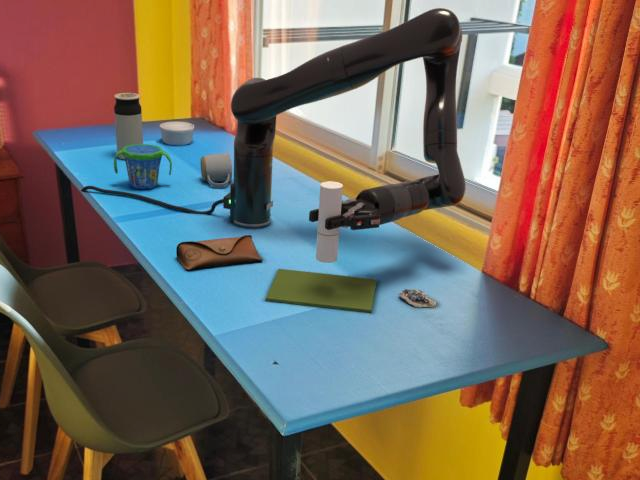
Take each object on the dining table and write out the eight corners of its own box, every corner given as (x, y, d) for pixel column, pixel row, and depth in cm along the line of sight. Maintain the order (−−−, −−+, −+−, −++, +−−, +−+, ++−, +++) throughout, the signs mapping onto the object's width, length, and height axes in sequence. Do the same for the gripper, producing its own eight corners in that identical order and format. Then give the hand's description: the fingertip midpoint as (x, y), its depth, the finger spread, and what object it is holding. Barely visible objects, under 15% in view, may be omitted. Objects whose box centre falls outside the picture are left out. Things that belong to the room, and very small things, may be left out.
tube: (336, 263, 153) (341, 189, 145) (314, 261, 153) (319, 187, 145) (338, 255, 156) (344, 182, 148) (317, 253, 157) (321, 180, 149)
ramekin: (193, 147, 247) (192, 130, 244) (158, 146, 247) (157, 129, 244) (195, 138, 256) (195, 121, 254) (162, 137, 256) (161, 120, 254)
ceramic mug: (199, 177, 220) (199, 150, 216) (227, 176, 222) (228, 149, 218) (206, 189, 212) (205, 161, 207) (235, 188, 213) (235, 160, 209)
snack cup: (175, 181, 217) (174, 144, 211) (169, 193, 208) (167, 155, 202) (120, 178, 217) (117, 142, 212) (111, 190, 208) (109, 152, 203)
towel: (265, 300, 154) (265, 298, 153) (278, 271, 166) (278, 268, 166) (371, 312, 150) (371, 310, 150) (376, 281, 163) (376, 279, 163)
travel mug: (149, 156, 237) (146, 95, 227) (132, 162, 231) (128, 99, 221) (129, 151, 240) (125, 91, 231) (112, 157, 235) (107, 95, 225)
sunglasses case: (187, 270, 164) (182, 238, 163) (179, 274, 170) (174, 244, 170) (265, 260, 170) (260, 229, 169) (254, 264, 176) (250, 235, 176)
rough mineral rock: (409, 289, 160) (410, 280, 159) (444, 300, 156) (445, 292, 155) (392, 299, 156) (393, 291, 155) (427, 311, 152) (429, 303, 150)
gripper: (362, 177, 160) (296, 191, 152) (410, 196, 150) (343, 212, 142) (358, 212, 164) (294, 227, 156) (406, 233, 154) (340, 251, 146)
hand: (318, 220), depth 149 cm, fingers closed on tube, 4 cm apart
